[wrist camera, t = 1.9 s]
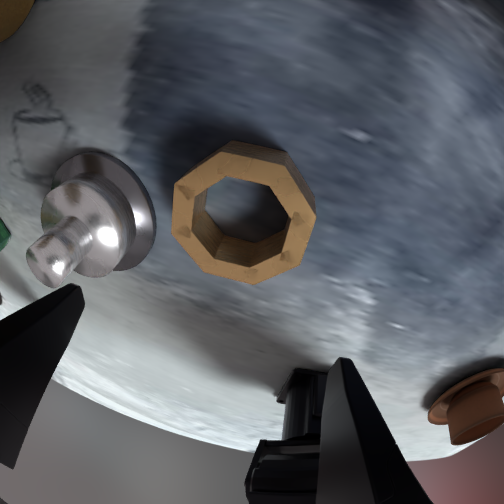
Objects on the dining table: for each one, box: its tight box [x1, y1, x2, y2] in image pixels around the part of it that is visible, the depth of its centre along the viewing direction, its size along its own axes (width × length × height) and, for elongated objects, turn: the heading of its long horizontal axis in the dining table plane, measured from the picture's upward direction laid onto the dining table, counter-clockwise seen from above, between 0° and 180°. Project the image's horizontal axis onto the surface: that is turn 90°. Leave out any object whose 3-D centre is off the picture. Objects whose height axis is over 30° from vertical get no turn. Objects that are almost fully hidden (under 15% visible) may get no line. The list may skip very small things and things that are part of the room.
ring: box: [171, 140, 316, 285], centre depth 16 cm, size 7×7×2 cm
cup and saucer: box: [428, 368, 504, 445], centre depth 22 cm, size 12×12×6 cm
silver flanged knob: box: [26, 152, 156, 288], centre depth 16 cm, size 9×9×6 cm
